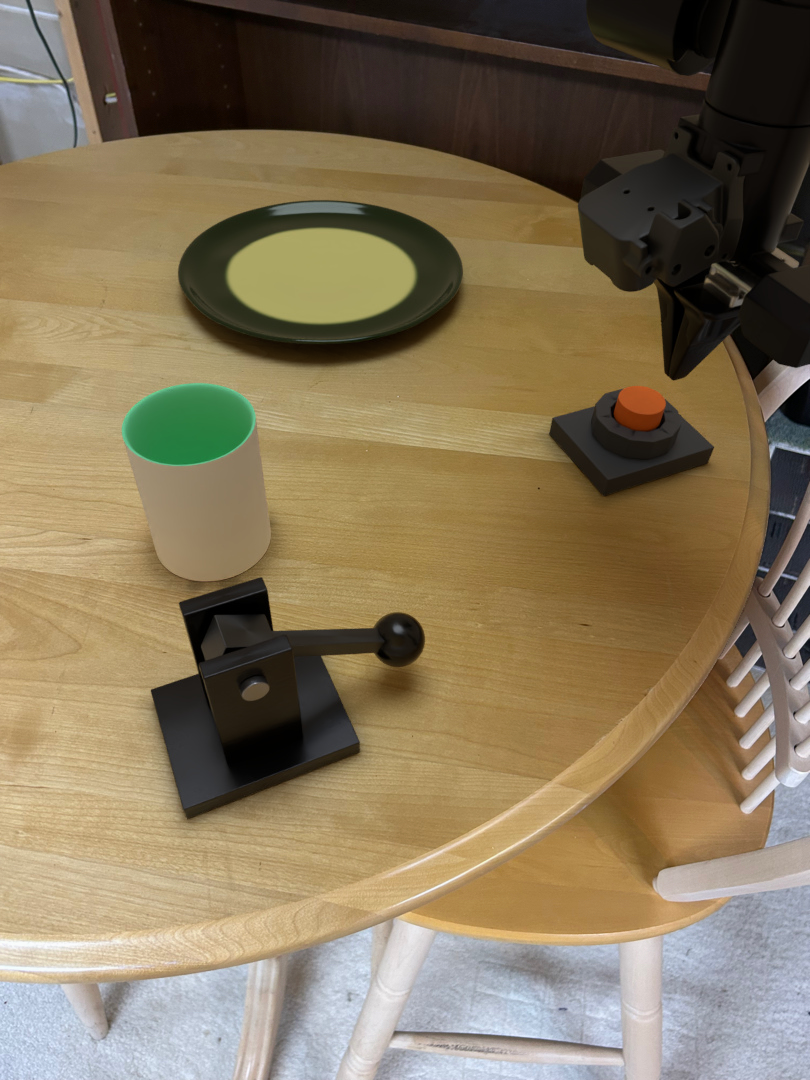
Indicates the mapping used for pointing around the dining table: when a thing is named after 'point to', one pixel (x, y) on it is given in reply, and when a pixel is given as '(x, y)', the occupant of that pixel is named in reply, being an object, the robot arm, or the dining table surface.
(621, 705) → the dining table surface
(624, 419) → the button
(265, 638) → the lever
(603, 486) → the button box
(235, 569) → the mug
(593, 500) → the dining table surface
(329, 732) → the switch
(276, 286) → the plate
